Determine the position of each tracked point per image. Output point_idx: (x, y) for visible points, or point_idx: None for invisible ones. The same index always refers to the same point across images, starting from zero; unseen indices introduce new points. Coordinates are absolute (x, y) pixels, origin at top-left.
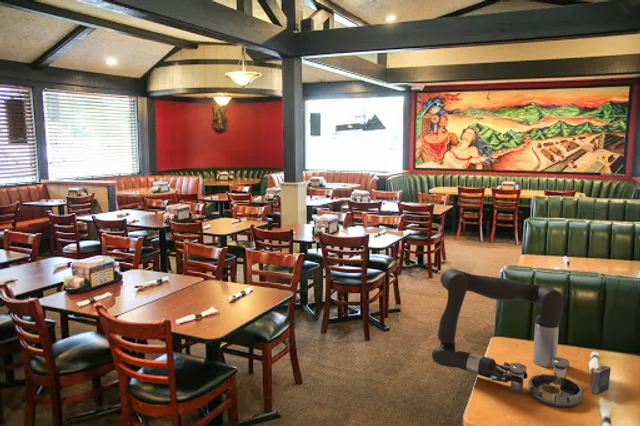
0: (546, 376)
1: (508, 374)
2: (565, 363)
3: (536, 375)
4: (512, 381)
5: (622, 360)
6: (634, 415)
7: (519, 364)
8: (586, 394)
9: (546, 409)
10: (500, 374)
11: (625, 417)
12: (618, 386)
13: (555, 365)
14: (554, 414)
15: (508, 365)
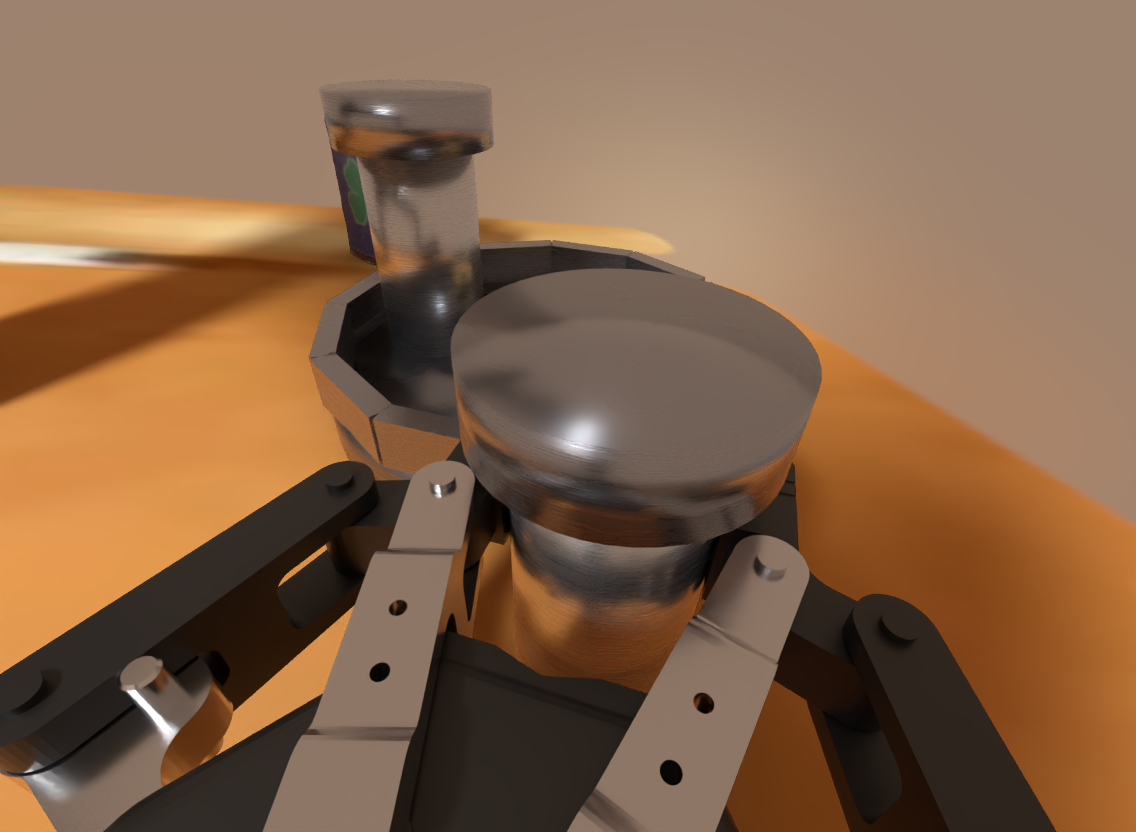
0: (341, 350)
1: (783, 597)
2: (468, 85)
3: (351, 393)
4: (686, 615)
5: (35, 201)
6: (602, 226)
7: (514, 319)
8: None
9: (810, 431)
10: (968, 811)
11: (637, 238)
12: (334, 227)
13: (470, 135)
14: (843, 399)
15: (199, 626)
